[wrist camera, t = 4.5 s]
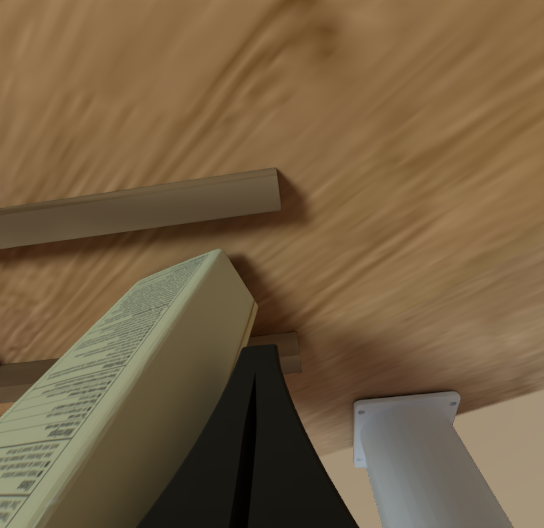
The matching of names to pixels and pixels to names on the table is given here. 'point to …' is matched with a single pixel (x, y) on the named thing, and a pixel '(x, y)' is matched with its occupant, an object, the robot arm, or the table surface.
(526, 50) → the table surface
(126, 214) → the cradle
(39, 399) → the skincare box
